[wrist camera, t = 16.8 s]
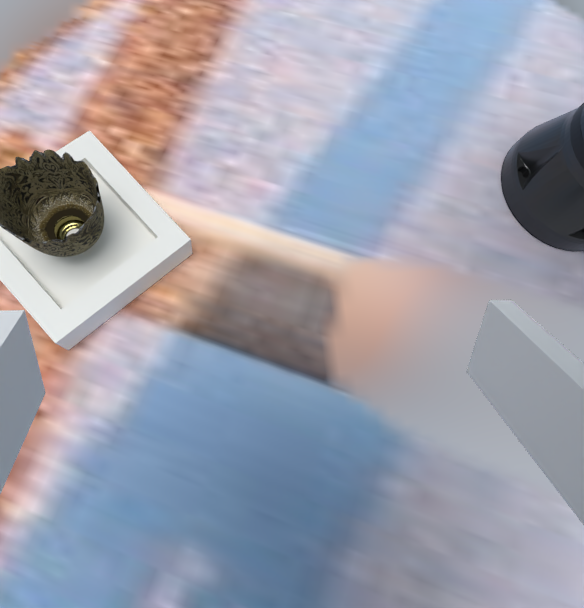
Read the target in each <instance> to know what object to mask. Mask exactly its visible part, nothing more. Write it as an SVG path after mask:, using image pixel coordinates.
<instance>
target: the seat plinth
mask: <svg viewBox="0 0 584 608" xmlns="http://www.w3.org/2000/svg"><path fill="white" fill-rule="evenodd" d="M65 152H67V153H68V154H70V155H71V156H72V158H73V159H74V161H83V162H85V163H86V164H87V166H88V167H89V168H90V170H91V172H92V174H93V176H94V177H95V178H96V180H97V182H98V187H99V192H100V196H101V200H102V204H103V209H104V227H103V231H102V233H101V236H100V237H99V239H98V240H97V242H96V243H95V244H94V245H93V246H92V247H91V248H90V249H88V250H87V251H85V252H83V253H81V254H78V255H75V256H70V257H56V256H51V255H48V254H44V253H42V252H40V251H38V250H36V249H34V248H32V247H30V246H29V245H27V244H26V243H24V242H23V241H21V240H20V239H18V238H17V237H15V236H14V235H12V234H11V233H9V232H8V231H6V230H5V229H3V228H2V227H1V226H0V280H1V281H2V283H3V284H4V285H5V286H6V287H7V288H8V289H9V291H10V292H11V293H12V294H13V295H14V296H15V297H16V299H17V300H18V301H19V302H20V303H21V304H22V305H23V307H24V308H25V309H26V310H27V311H28V312H29V313H30V315H31V316H32V317H33V318H34V319H35V320H36V322H37V323H38V324H39V325H40V326H41V327H42V328H43V330H44V331H45V332H46V333H47V334H48V335H49V336H50V338H51V339H52V340H53V341H54V342H55V343H56V344H58V345H60V346H61V347H63V348H65V349H67V350H70V349H71V348H72V347H74V346H75V345H76V344H77V343H79V342H80V341H81V340H83V339H84V338H85V337H86V336H88V335H89V334H90V333H92V332H93V331H94V330H95V329H97V328H98V327H99V326H101V325H102V324H103V323H104V322H106V321H107V320H108V319H110V318H111V317H112V316H113V315H115V314H116V313H117V312H118V311H120V310H121V309H122V308H124V307H125V306H126V305H127V304H129V303H130V302H131V301H133V300H134V299H135V298H136V297H138V296H139V295H140V294H142V293H143V292H144V291H145V290H147V289H148V288H149V287H151V286H152V285H153V284H154V283H156V282H157V281H158V280H160V279H161V278H162V277H163V276H165V275H166V274H167V273H169V272H170V271H171V270H172V269H174V268H175V267H176V266H177V265H179V264H180V263H181V262H183V261H184V260H185V259H186V258H188V257H189V256H190V255H192V254H193V253H192V245H191V239H190V238H189V237H188V236H187V235H186V234H185V233H184V232H183V231H182V230H181V229H180V227H179V226H178V225H177V224H176V223H175V222H174V221H173V220H172V219H171V218H170V217H169V216H168V215H167V213H166V212H165V211H164V210H163V209H162V208H161V207H160V206H159V205H158V204H157V203H156V202H155V201H154V199H153V198H152V197H151V196H150V195H149V194H148V193H147V192H146V191H145V190H144V189H143V188H142V187H141V185H140V184H139V183H138V182H137V181H136V180H135V179H134V178H133V177H132V176H131V175H130V174H129V173H128V171H127V170H126V169H125V168H124V167H123V166H122V165H121V164H120V163H119V162H118V161H117V160H116V159H115V158H114V156H113V155H112V154H111V153H110V152H109V151H108V150H107V149H106V148H105V147H104V146H103V145H102V144H101V142H100V141H99V140H98V139H97V138H96V137H95V136H94V135H93V134H92V133H91V132H90V131H88V132H87V133H85V134H83V135H82V136H80V137H79V138H77V139H75V140H74V141H72V142H71V143H69V144H67V145H66V146H64V147H63V148H61V149H59V150H58V151H56V153H57V154H58V155H59V156H60V157H61V158H62V157H63V156H62V155H63V154H64V153H65ZM78 230H79V229H78V228H75V229H71V230H70V231H68V233H67V234H66V236H68V235H70V234H72V233H76V232H77V231H78Z"/></svg>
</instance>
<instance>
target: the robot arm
mask: <svg viewBox="0 0 584 608" xmlns="http://www.w3.org/2000/svg"><path fill="white" fill-rule="evenodd" d="M502 187H503V191H504V195H505V198H506V201H507V203H508V205H509V207H510V209H511V211H512V212H513V214H514V215H515V217H516V218H517V220H518V221H519V222H520V223H521V224H522V225H523V226H524V227H525V228H526V229H527V230H528V231H529V232H530V233H531V234H532V235H534V236H535V237H536V238H538V239H540V240H541V241H543V242H545V243H547V244H549V245H551V246H554V247H557V248H560V249H564V250H570V251H583V250H584V103H583V104H582V105H581V106H580V107H579V108H577V109H575V110H573V111H570V112H568V113H566V114H564V115H561V116H559V117H557V118H554V119H552V120H550V121H548V122H545V123H543V124H541V125H539V126H537V127H535V128H533V129H532V130H530V131H529V132H527V133H526V134H525V135H524V136H523V137H522V138H521V139H520V140H519V141H517V142H516V143H515V144H514V145H513V146H512V148H511V149H510V150H509V152H508V153H507V155H506V157H505V160H504V163H503V167H502ZM467 373H468V375H469V376H470V377H471V378H472V379H473V381H474V382H475V384H476V385H477V386H478V388H479V389H480V390H481V391H482V393H483V394H484V395H485V397H486V398H487V399H488V401H489V402H490V403H491V405H492V406H493V407H494V408H495V410H496V411H497V412H498V414H499V415H500V416H501V418H502V419H503V420H504V422H505V423H506V424H507V426H509V428H510V429H511V431H512V432H513V433H514V435H515V436H516V437H517V438H518V440H519V441H520V442H521V444H522V445H523V446H524V448H525V449H526V450H527V452H528V453H529V454H530V456H531V457H532V458H533V459H534V461H535V462H536V463H537V465H538V466H539V467H540V469H541V470H542V471H543V473H544V474H545V475H546V476H547V478H548V479H549V480H550V482H551V483H552V484H553V486H554V487H555V488H556V490H557V491H558V492H559V493H560V495H561V496H562V497H563V499H564V500H565V501H566V503H567V504H568V505H569V507H570V508H571V509H572V510H573V512H574V513H575V514H576V516H577V517H578V518H579V520H580V521H581V522H582V524H583V525H584V363H583V362H582V361H581V360H580V359H579V358H578V357H576V356H575V355H574V354H573V353H572V352H571V351H570V350H569V349H567V348H566V347H565V346H564V345H563V344H562V343H560V342H559V341H558V340H557V339H556V338H555V337H554V336H553V335H551V334H550V333H549V332H548V331H547V330H546V329H545V328H543V327H542V326H541V325H540V324H539V323H538V322H537V321H535V320H534V319H533V318H532V317H531V316H530V315H529V314H527V313H526V312H525V311H524V310H523V309H522V308H521V307H519V306H518V305H517V304H516V303H515V302H514V301H513V300H489V302H488V306H487V309H486V312H485V315H484V318H483V321H482V325H481V328H480V331H479V334H478V337H477V340H476V343H475V346H474V350H473V353H472V356H471V359H470V362H469V365H468V369H467ZM44 395H45V389H44V385H43V381H42V377H41V373H40V369H39V365H38V361H37V357H36V353H35V349H34V346H33V342H32V338H31V334H30V330H29V326H28V322H27V318H26V314H25V310H12V311H0V494H1V491H2V489H3V487H4V485H5V482H6V480H7V478H8V476H9V473H10V471H11V469H12V467H13V464H14V462H15V460H16V458H17V455H18V453H19V451H20V449H21V446H22V444H23V442H24V440H25V437H26V435H27V433H28V431H29V429H30V426H31V424H32V422H33V420H34V417H35V415H36V413H37V411H38V408H39V406H40V404H41V402H42V399H43V397H44Z"/></svg>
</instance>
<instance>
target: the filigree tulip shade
mask: <svg viewBox="0 0 584 608" xmlns="http://www.w3.org/2000/svg"><path fill="white" fill-rule="evenodd" d="M62 156H63V157H62V158H61V157H60V156H59V155H58V154H57V153H56V152H54V151H52V150H46V151H44V153H42V152H41V153H40V152H38V151H36V150H35V151H34V152H33V154H32V156H31V157H30V158H29V160H30V161H27V160H25V159H24V158H20V157H16V165H14V166H11V167H10V166H6V167H4V168H2V169H0V226H1V227H2V228H3V229H5V230H6V231H8V232H9V233H11V234H12V235H14V236H15V237H17V238H18V239H20V240H21V241H23V242H24V243H26V244H27V245H29V246H30V247H32V248H34V249H36V250H38V251H40V252H42V253H44V254H48V255H51V256H56V257H70V256H75V255H78V254H81V253H83V252H85V251H87V250H88V249H90V248H91V247H92V246H93V245H94V244H95V243H96V242H97V240H98V239H99V237H100V236H101V233H102V231H103V227H104V209H103V204H102V200H101V196H100V192H99V187H98V182H97V180H96V178H95V177H94V176H93V174H92V172H91V170H90V168H89V167H88V166H87V164H86V163H85V162H83V161H74V159H73V158H72V156H71V155H70V154H68V153H67V152H65V153H64V154H63V155H62ZM75 228H78V229H79V230H78V231H77V232H76V233H72V234H70V235H68V236H66V234H67V233H68V231H70V230H71V229H75Z"/></svg>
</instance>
